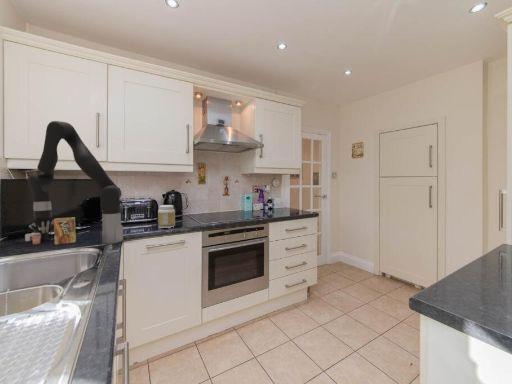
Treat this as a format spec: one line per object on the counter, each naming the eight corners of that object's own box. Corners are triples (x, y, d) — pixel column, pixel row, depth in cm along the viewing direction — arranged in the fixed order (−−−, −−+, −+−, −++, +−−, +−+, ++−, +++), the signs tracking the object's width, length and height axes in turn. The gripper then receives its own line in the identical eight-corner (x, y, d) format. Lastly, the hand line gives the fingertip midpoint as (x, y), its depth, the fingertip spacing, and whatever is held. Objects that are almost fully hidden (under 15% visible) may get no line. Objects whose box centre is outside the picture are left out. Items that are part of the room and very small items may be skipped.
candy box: (76, 243, 132) (75, 217, 132) (75, 245, 129) (74, 218, 128) (56, 245, 128) (55, 218, 127) (54, 247, 124) (53, 219, 123)
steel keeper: (18, 241, 130) (17, 234, 130) (37, 237, 140) (37, 230, 140) (34, 242, 129) (34, 235, 129) (52, 237, 140) (52, 230, 140)
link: (31, 237, 139) (31, 232, 139) (42, 236, 142) (42, 231, 142) (30, 245, 123) (30, 239, 123) (42, 243, 126) (42, 238, 126)
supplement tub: (159, 226, 182) (159, 205, 181) (175, 225, 185) (175, 204, 184) (157, 229, 170) (156, 206, 169) (174, 228, 174) (174, 206, 173)
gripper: (52, 207, 138) (54, 235, 139) (23, 210, 125) (25, 241, 127) (60, 208, 135) (61, 237, 136) (31, 211, 123) (33, 243, 124)
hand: (44, 239), depth 131 cm, fingers closed
